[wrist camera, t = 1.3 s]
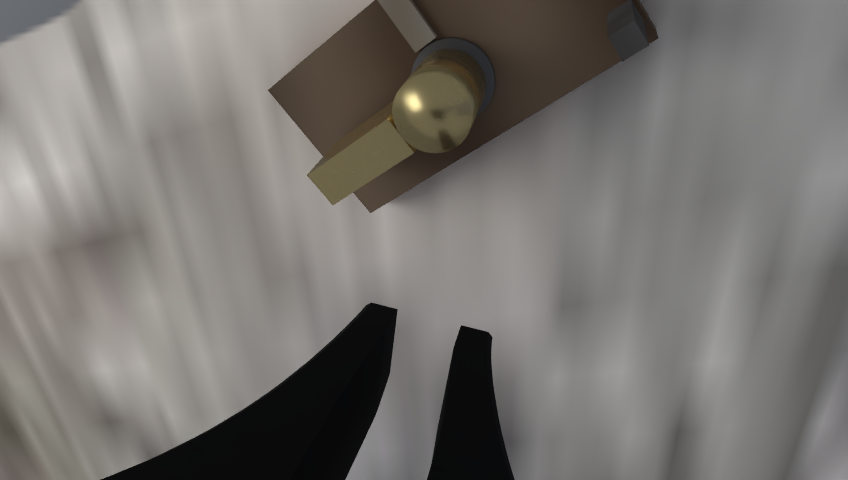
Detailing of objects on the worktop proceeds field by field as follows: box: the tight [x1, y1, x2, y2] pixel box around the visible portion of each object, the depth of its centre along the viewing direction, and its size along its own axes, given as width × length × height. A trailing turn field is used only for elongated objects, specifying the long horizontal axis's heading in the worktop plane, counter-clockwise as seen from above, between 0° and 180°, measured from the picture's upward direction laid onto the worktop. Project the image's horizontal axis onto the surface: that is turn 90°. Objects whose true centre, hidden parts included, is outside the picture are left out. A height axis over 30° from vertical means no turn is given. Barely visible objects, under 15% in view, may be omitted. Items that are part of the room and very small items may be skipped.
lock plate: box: [268, 0, 658, 213], centre depth 18 cm, size 11×6×4 cm, turn 129°
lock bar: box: [307, 49, 486, 205], centre depth 18 cm, size 6×2×2 cm, turn 129°
